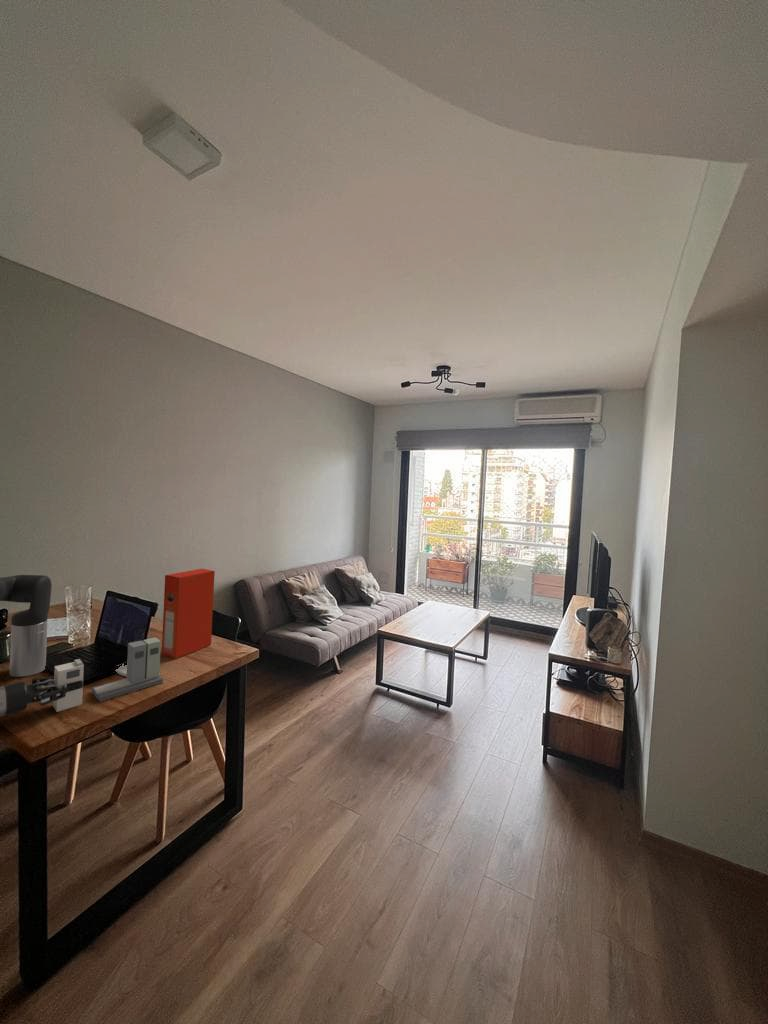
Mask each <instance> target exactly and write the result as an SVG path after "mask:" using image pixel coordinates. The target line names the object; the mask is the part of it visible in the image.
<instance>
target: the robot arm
mask: <svg viewBox="0 0 768 1024" xmlns="http://www.w3.org/2000/svg"><path fill="white" fill-rule="evenodd" d="M51 597H52V580H51V578H50V577H49V576H48V575H41V574H39V575H38V574H37V575H36V574H17V575H16V574H15V575H11V576H4V577H0V602H11V603H24V604H25V603H26V604H27V603H28V604H29V603H30V604H29V608H28V609H25V610H22V611H18V612H17V613H14V614H13V615H12V616H11V619H10V620H11V622H10V624H11V625H10V633H11V634H10V652H9V653H10V654H9V655H10V656H9V676H11V677H15V678H16V677H17V678H19V677H21V678H22V677H30V676H32V675H33V676H34V675H36V674H40V673H41V672H43V671H45V669H46V668H45V666H47V663H46V662H47V643H48V642H47V639H48V618H49V617H48V616H49V612H50V606H51ZM82 687H83V688H84V681H83V682H82V681H81V680H80V681H77V682H73V683H69V684H64V685H60V686H57V685H56V684H54V675H52V676H45V677H39V678H33V679H31V683H30V684H28V685H27V683H26V682H25V681H20V682H19V681H18V682H16V683H15V682H14V683H12V684H11V683H10V684H6V685H3V686H0V717H4V716H6V715H10V714H13V713H18V712H21V711H24V710H26V708H27V707H28V704H31V703H38V702H39V705H40V706H45V705H48V704H50V703H53V701H56V700H58V699H61V698H63V697H65V696H66V693H67V692H69V691H73V690H77V689H80V688H82ZM57 689H58V690H57ZM57 695H59V696H57Z"/></svg>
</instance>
